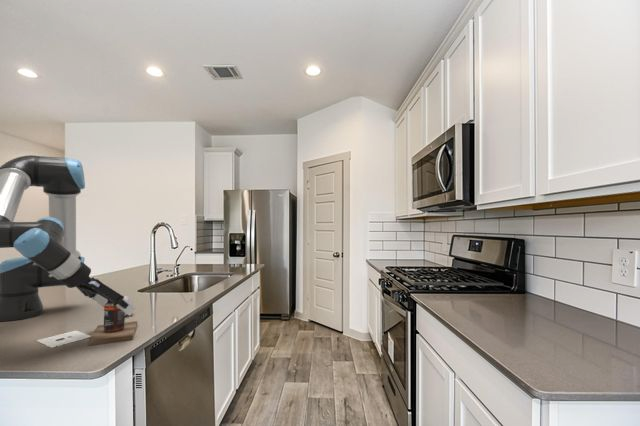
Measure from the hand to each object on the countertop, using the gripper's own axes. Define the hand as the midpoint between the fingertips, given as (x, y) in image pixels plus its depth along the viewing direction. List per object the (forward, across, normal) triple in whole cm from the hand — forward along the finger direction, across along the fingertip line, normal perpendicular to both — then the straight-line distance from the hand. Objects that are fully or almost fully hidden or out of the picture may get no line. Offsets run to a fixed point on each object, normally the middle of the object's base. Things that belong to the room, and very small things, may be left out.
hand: (120, 309), depth 110 cm
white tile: (-3, -10, -14) cm, 18 cm away
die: (+13, -19, +2) cm, 24 cm away
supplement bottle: (+3, 0, -6) cm, 7 cm away
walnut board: (+4, 0, -7) cm, 8 cm away
